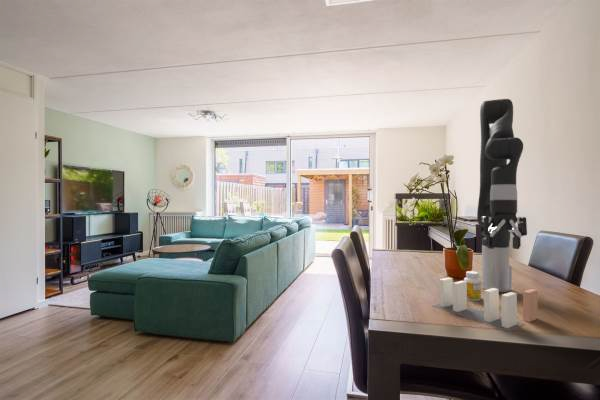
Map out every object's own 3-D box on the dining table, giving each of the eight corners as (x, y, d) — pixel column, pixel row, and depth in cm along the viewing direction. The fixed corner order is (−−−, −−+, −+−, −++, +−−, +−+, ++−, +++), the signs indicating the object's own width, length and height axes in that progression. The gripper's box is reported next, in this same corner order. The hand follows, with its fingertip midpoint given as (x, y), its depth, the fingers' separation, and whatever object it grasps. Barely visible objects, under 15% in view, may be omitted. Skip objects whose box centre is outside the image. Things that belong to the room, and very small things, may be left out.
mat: (432, 307, 109) (432, 306, 109) (448, 302, 113) (448, 301, 113) (508, 333, 88) (508, 331, 88) (524, 325, 93) (524, 324, 93)
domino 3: (483, 320, 96) (483, 290, 96) (493, 317, 98) (493, 287, 98) (489, 322, 94) (489, 291, 94) (498, 318, 97) (498, 289, 97)
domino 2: (452, 310, 104) (452, 282, 104) (462, 307, 107) (462, 280, 107) (457, 311, 103) (457, 283, 103) (466, 308, 106) (466, 281, 105)
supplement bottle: (460, 297, 119) (460, 270, 119) (474, 296, 119) (474, 270, 119) (469, 301, 114) (469, 274, 113) (484, 301, 114) (484, 273, 114)
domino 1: (439, 305, 109) (439, 279, 109) (448, 303, 111) (448, 277, 111) (443, 307, 107) (443, 280, 107) (452, 304, 110) (452, 278, 110)
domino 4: (501, 326, 92) (501, 294, 91) (510, 322, 94) (510, 291, 94) (507, 328, 90) (507, 296, 90) (516, 324, 93) (516, 293, 93)
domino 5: (523, 321, 96) (523, 291, 96) (531, 318, 98) (531, 288, 98) (529, 323, 94) (529, 292, 94) (537, 319, 97) (537, 290, 97)
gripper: (516, 199, 110) (515, 247, 109) (475, 198, 109) (475, 247, 108) (533, 199, 102) (533, 250, 102) (489, 198, 101) (489, 249, 101)
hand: (503, 248), depth 105 cm, fingers open, 8 cm apart
